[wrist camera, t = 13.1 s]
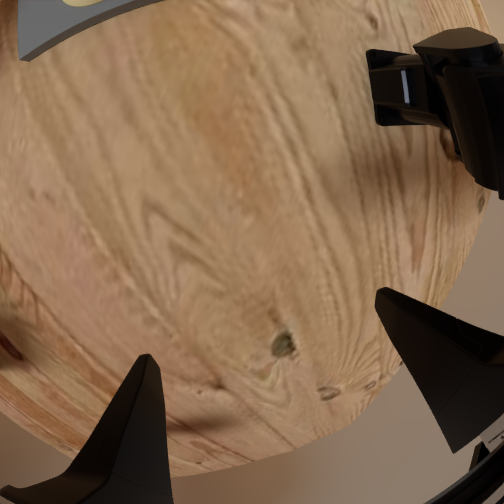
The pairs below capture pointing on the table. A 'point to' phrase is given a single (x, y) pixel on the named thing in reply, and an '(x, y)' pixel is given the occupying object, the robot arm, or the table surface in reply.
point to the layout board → (62, 20)
